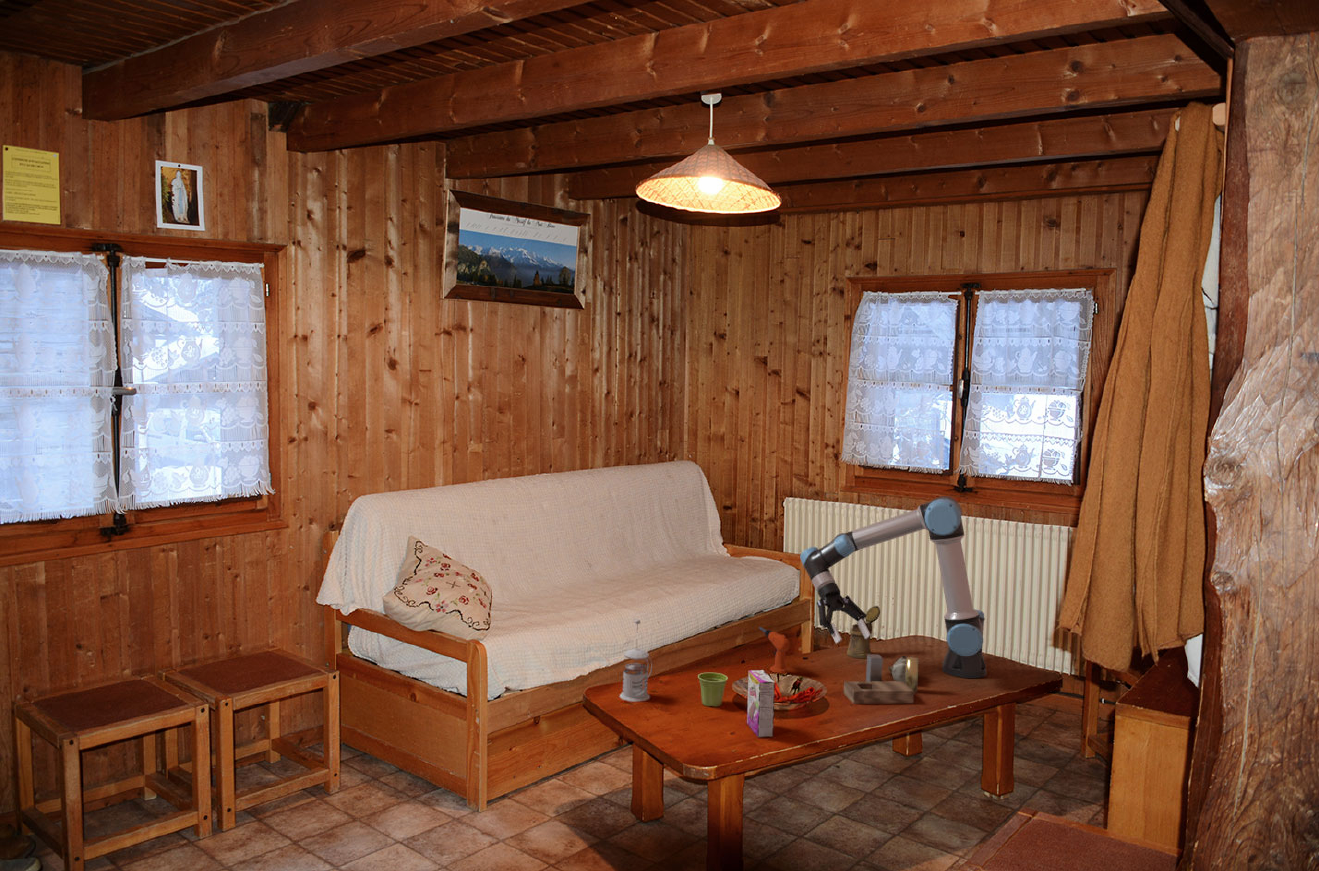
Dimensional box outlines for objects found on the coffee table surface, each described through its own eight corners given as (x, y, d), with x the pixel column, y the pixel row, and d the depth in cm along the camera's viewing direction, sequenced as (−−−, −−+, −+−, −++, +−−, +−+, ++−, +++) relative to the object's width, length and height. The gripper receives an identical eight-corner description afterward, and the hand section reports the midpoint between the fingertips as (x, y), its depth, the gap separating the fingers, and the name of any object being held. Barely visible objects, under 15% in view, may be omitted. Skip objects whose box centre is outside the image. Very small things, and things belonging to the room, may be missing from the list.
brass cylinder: (914, 688, 326) (915, 656, 325) (918, 692, 322) (920, 660, 321) (902, 688, 325) (904, 656, 325) (907, 692, 321) (909, 660, 321)
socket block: (901, 692, 321) (902, 681, 321) (913, 703, 311) (913, 690, 311) (843, 693, 319) (844, 681, 318) (853, 703, 309) (854, 691, 308)
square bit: (877, 686, 327) (878, 654, 327) (881, 690, 323) (882, 657, 323) (865, 686, 327) (867, 654, 326) (869, 690, 323) (871, 657, 322)
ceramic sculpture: (887, 658, 330) (889, 649, 344) (886, 683, 330) (887, 673, 344) (919, 662, 327) (919, 653, 342) (918, 687, 327) (918, 677, 342)
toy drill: (761, 656, 352) (765, 619, 349) (790, 677, 336) (795, 638, 334) (750, 658, 350) (755, 620, 347) (779, 678, 334) (784, 639, 332)
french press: (613, 695, 308) (615, 618, 306) (638, 687, 316) (641, 613, 315) (635, 703, 301) (637, 625, 300) (660, 695, 310) (663, 619, 308)
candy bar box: (745, 723, 287) (747, 669, 286) (761, 723, 288) (763, 669, 287) (757, 737, 276) (759, 681, 275) (773, 737, 277) (776, 681, 276)
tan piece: (884, 654, 365) (886, 608, 364) (859, 659, 357) (861, 612, 356) (867, 648, 372) (869, 603, 371) (842, 653, 365) (844, 606, 364)
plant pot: (710, 696, 310) (711, 670, 310) (732, 704, 304) (733, 677, 303) (690, 702, 304) (691, 675, 303) (712, 711, 297) (713, 683, 297)
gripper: (846, 589, 353) (874, 640, 342) (794, 596, 340) (820, 649, 328) (857, 578, 349) (885, 629, 337) (805, 584, 335) (832, 637, 324)
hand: (853, 639), depth 333 cm, fingers open, 13 cm apart
